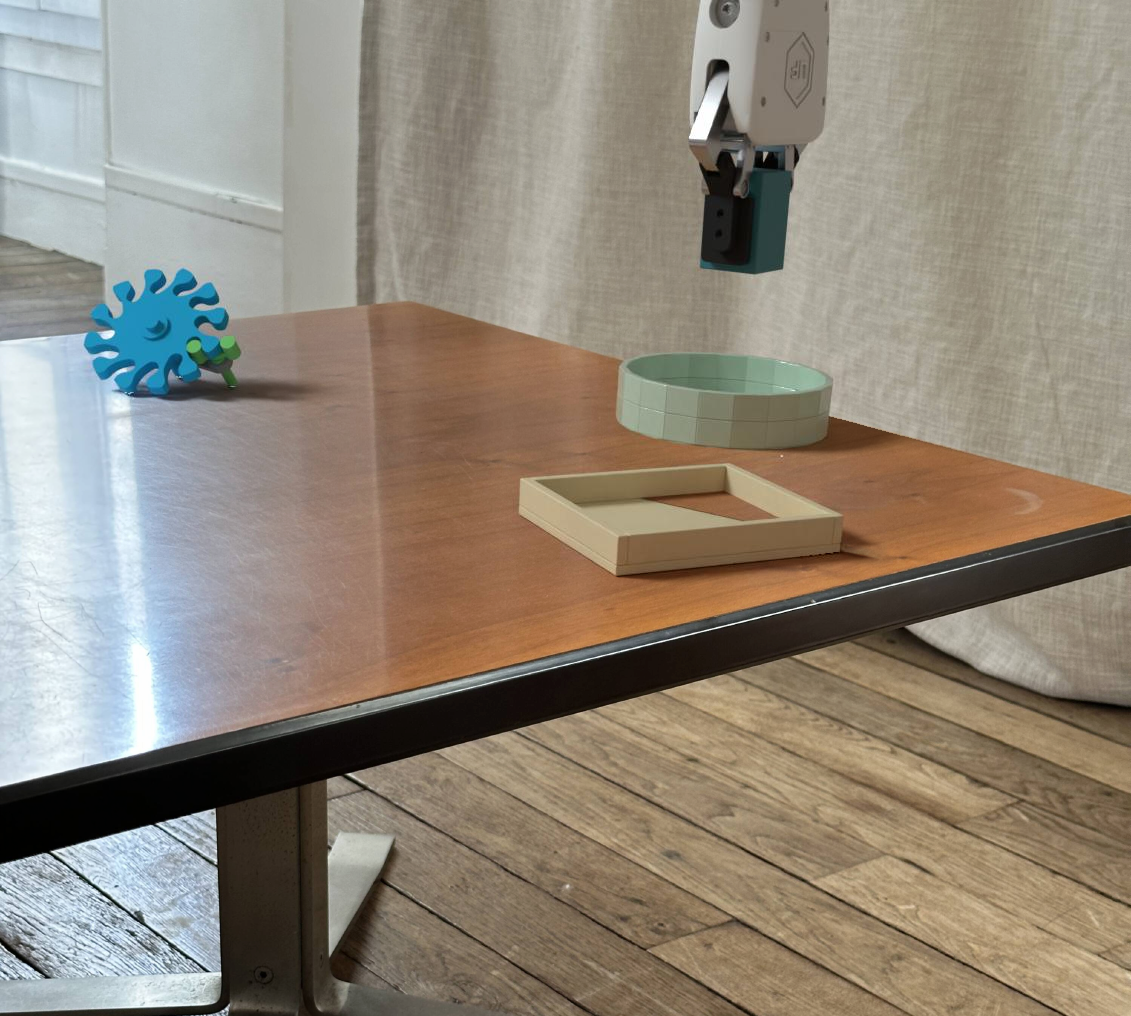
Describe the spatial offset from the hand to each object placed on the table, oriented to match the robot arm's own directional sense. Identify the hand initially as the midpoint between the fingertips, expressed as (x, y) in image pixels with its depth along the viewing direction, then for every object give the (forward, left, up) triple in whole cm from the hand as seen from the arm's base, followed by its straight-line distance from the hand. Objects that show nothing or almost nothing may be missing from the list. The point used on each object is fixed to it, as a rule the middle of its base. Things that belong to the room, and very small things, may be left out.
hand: (742, 257), depth 102 cm
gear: (+32, -21, -11) cm, 40 cm away
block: (0, 0, -1) cm, 1 cm away
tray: (+15, +20, -11) cm, 27 cm away
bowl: (0, 0, -11) cm, 11 cm away
